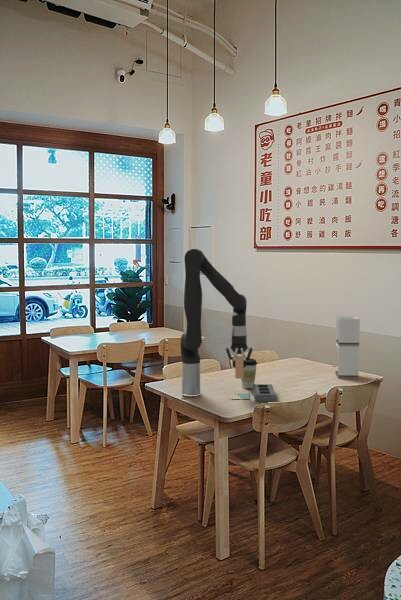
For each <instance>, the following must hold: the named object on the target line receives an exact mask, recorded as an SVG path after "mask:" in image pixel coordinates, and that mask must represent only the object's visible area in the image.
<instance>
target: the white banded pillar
mask: <svg viewBox="0 0 401 600" xmlns="http://www.w3.org/2000/svg"><path fill="white" fill-rule="evenodd" d="M335 319H336V321H335V325H336V326H335V328H336V330H335V346H336V347H337V349H338V352H337V354H338V355H337V357H338V358H337V359H338V360H337V370H335V371H334V374H335V376H336V378H337V379H338V380H359V366H360V365H359V363H360V326H361V325H360V324H361V323H360V320H361V319H360V318H359V317H357V316H353V315H352V316H343V315H341V316H336V318H335Z"/></svg>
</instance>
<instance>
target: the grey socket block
mask: <svg viewBox="0 0 401 600" xmlns="http://www.w3.org/2000/svg"><path fill="white" fill-rule="evenodd" d="M252 395H253V400H254V399H255V400H254V403H255V402H275V401H276V398H277V397H276V392H275V389H274V387H273V384H272V383H270V384H269V383H267V384H266V383H265V384H262V383H261V384H259V383H257V384H256V383H254V384H253V388H252Z"/></svg>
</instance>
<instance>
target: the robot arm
mask: <svg viewBox="0 0 401 600" xmlns="http://www.w3.org/2000/svg"><path fill="white" fill-rule="evenodd" d="M184 271H185V277H184V278H185V280H184V293H183V308H184V309H183V310H184V314H185V319H186V331H184V332H183V333H182V334H181V336H180V355H181V360H182V361H181V363H182V366H181V367H182V368H181V369H182V376H181V384H182V385H181V395H182V394H187V395H198V394H200V395H201V357H200V354H199V348H201V345H202V342H203V340H202V339H203V338H202V337H203V335H202V309H203V308H202V305H203V289H202V283H201V273H202V274H203V275H204V276H205V277H206V278H207V279H208V281H209V283H211V285H212V287H214V288H215V290H217V291H218V292H219V293H220V294H221V296H223V297H224V298H225V300H226V301H227V303H228V304H229V305H230V306H231V307H232V311H233V312H232V317H231V345H230V346H229V347H226V348H225V351H226V354H227V357H228V359H229V360H231V361H232V367H233V368H234V369H235V357H236V355H242V356H243V368H245V367H246V360H248V359H251V355H252V352H253V348H252V347H249V346H248V345H247V340H248V339H247V336H248V335H247V316H246V315H247V304H248V303H247V302H248V301H247V297H246V296H245V295H243V294H240V293H239V292H238V291H237V290H236V289H235V287H234V285H232V283H231V282H229V280H227V278H226V277H224V276H223V274H221V273H220V272H219V270H217V269H216V268H215V267H214V266H213V265H212V263H211V262H210V260H209V259H208V258H207V257H206V256H205V254H204V253H203V251H202V250H200V249H198V248H190V249H188V250H187V251H186V252H185V254H184ZM231 351H233V354H232V355H231ZM246 351H247V352H248V353H247V356H246V354H245V352H246Z"/></svg>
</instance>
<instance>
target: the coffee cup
mask: <svg viewBox="0 0 401 600" xmlns="http://www.w3.org/2000/svg"><path fill="white" fill-rule="evenodd" d="M257 365H258V362H257V359H254V358H249V359H248V360H246V367H245V368H243V379H240V380H241V381H240V382H241V387H242V389H245V388H252V389H253V384H255V381H256V375H257V374H256V373H257Z"/></svg>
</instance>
